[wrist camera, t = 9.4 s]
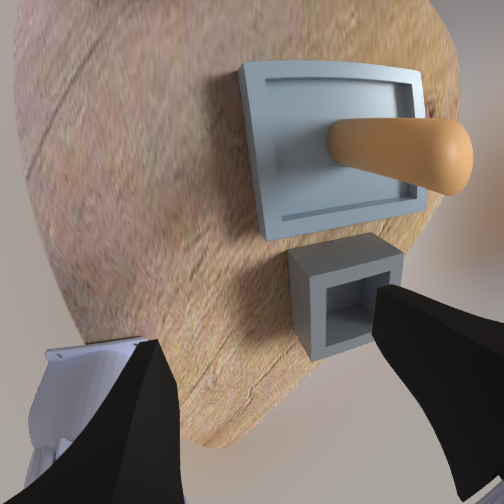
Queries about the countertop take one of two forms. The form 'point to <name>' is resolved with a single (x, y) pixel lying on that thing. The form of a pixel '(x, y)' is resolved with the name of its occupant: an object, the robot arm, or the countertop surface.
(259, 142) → the tray
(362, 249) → the pin cup
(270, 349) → the countertop surface
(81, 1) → the countertop surface
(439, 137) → the orange pin
